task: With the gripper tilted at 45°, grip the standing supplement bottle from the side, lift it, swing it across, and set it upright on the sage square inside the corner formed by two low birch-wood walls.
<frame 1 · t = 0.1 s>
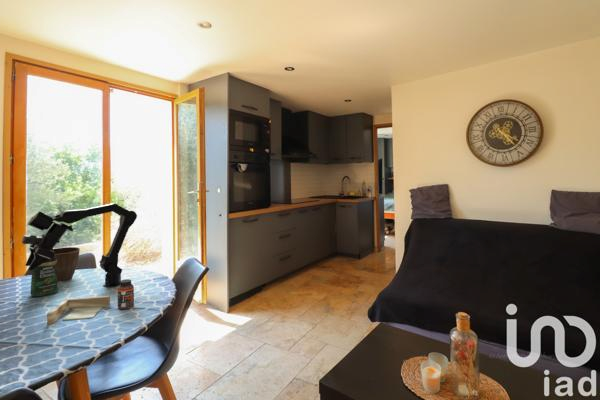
hand: (28, 268, 123), 16 cm above the table, tool tilted 35°, fingers open, 8 cm apart
supplement bottle: (126, 307, 123), on the table
coffee jar: (45, 294, 135), on the table, touching gripper
plant pot: (63, 280, 154), on the table
arena: (83, 313, 116), on the table
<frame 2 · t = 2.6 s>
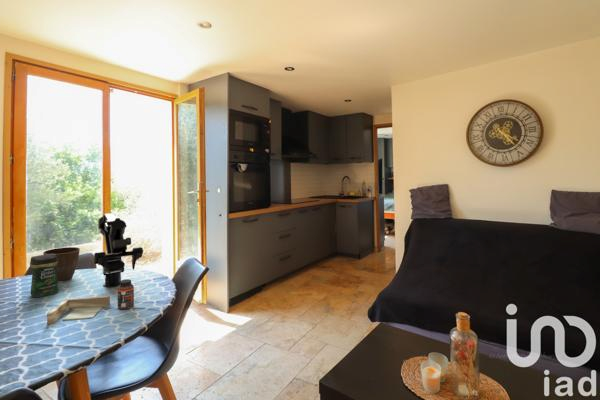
hand: (121, 271, 128), 13 cm above the table, tool tilted 45°, fingers open, 9 cm apart
coffee jar: (45, 294, 135), on the table
everything else where it was.
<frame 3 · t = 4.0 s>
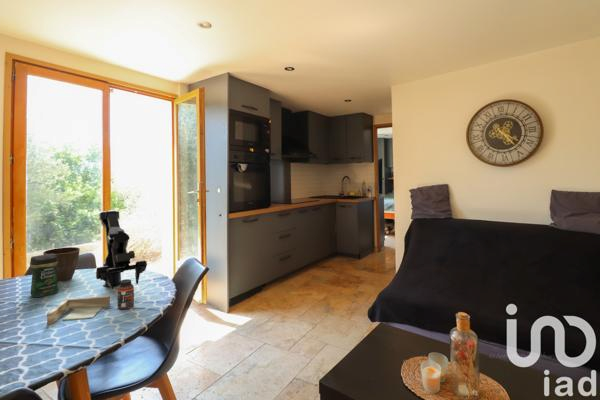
hand: (125, 286, 123), 9 cm above the table, tool tilted 45°, fingers open, 9 cm apart
nothing on the table moved.
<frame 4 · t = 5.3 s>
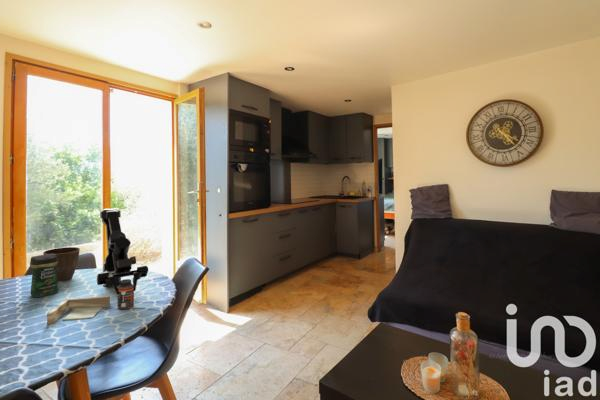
hand: (126, 292, 122), 7 cm above the table, tool tilted 45°, fingers closed on supplement bottle, 6 cm apart
supplement bottle: (126, 307, 123), on the table, touching gripper
everything else where it was.
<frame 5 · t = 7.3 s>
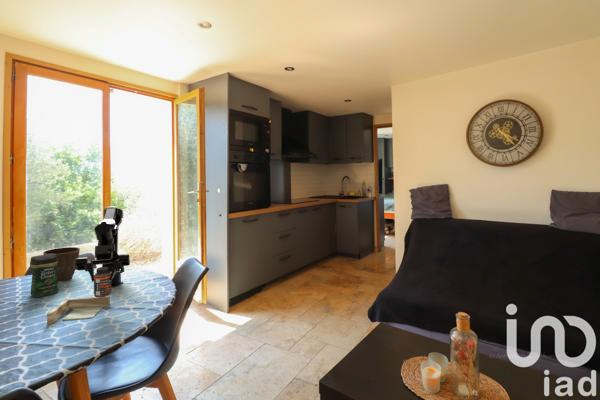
hand: (102, 280, 117), 13 cm above the table, tool tilted 45°, fingers closed on supplement bottle, 6 cm apart
supplement bottle: (103, 295, 118), point 6 cm above the table, touching gripper
everything else where it was.
when the fingers open (8 cm above the table, at t = 9.3 s): supplement bottle stays where it is, resting on arena.
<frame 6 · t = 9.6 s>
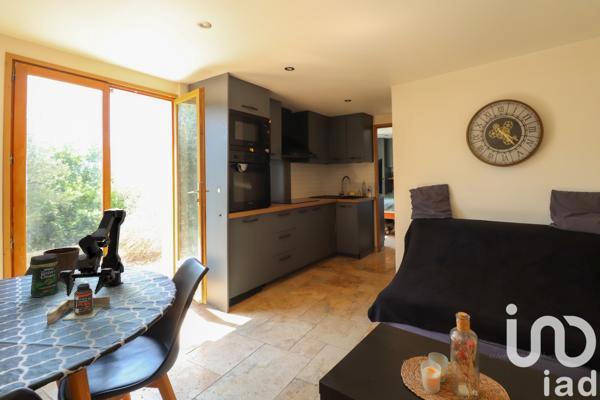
hand: (81, 295, 114), 8 cm above the table, tool tilted 45°, fingers open, 9 cm apart
supplement bottle: (83, 312, 116), resting on arena
everything else where it was.
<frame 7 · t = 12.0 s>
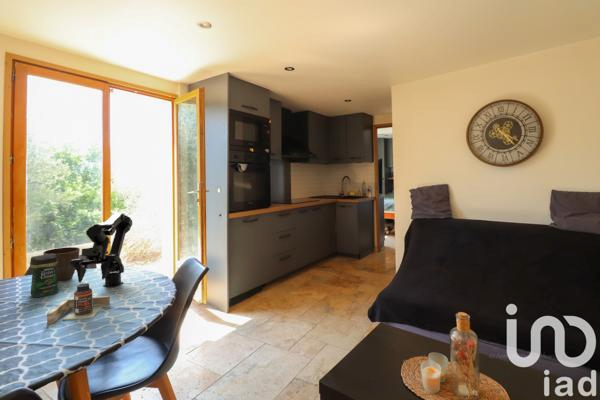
hand: (91, 280, 123), 11 cm above the table, tool tilted 40°, fingers open, 9 cm apart
nothing on the table moved.
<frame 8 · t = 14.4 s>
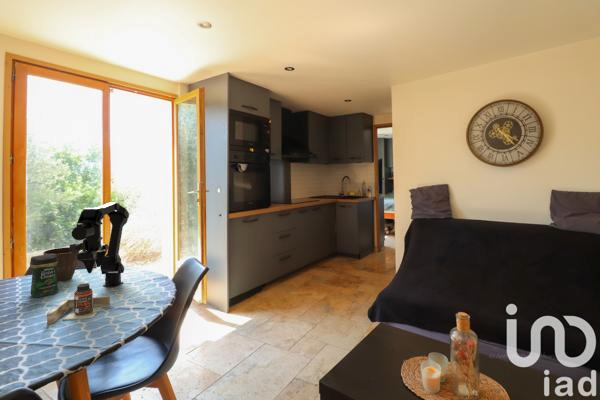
hand: (94, 269, 130), 13 cm above the table, tool pointing down, fingers open, 9 cm apart
nothing on the table moved.
at the end: supplement bottle 0.2 cm off-centre on the arena, point 0.2 cm above the arena's base; supplement bottle tilted 0°; the gripper is holding nothing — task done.
